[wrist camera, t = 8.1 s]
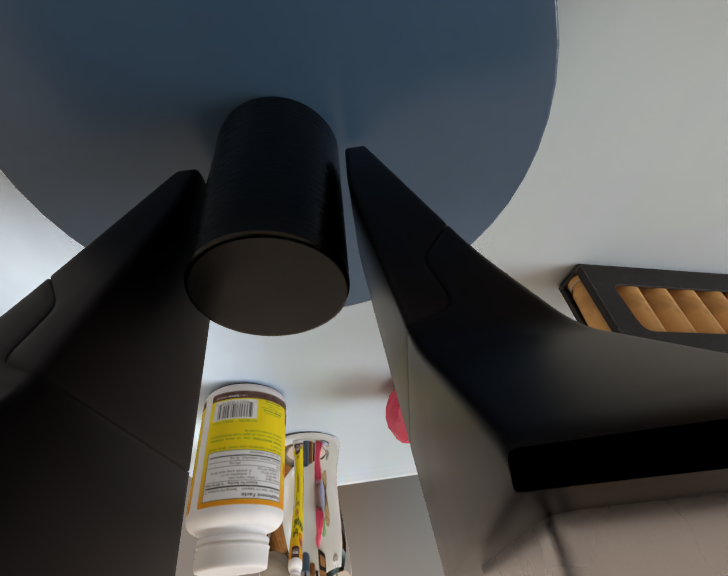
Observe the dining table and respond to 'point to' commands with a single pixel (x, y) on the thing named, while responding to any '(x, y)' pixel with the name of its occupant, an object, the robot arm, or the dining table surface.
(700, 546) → the robot arm
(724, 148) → the dining table surface
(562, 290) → the ammunition clip
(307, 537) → the clear pen holder cup
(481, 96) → the pot lid
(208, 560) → the supplement bottle
